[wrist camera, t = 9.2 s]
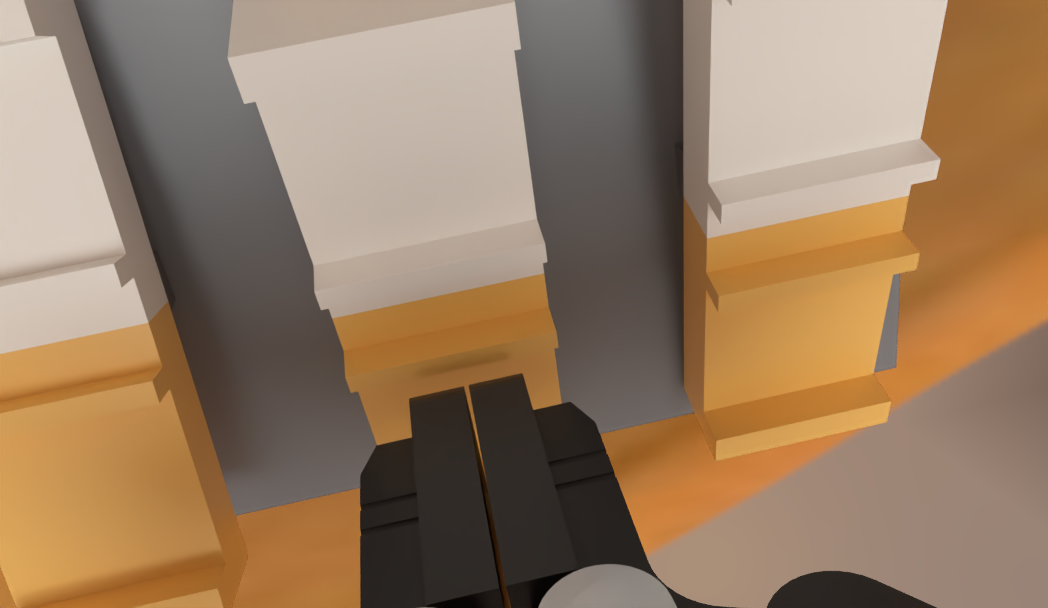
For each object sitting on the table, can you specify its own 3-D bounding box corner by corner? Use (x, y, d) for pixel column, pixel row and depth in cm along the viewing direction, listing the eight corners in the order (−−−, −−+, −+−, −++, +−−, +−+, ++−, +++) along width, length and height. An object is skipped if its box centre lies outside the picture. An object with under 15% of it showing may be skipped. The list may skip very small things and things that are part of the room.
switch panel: (-155, -134, 14) (-365, -111, 10) (790, -303, 15) (950, -344, 11) (102, 416, 19) (31, 581, 15) (798, 265, 20) (910, 383, 16)
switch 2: (683, -96, 10) (733, -41, 9) (923, -142, 11) (1002, -94, 9) (684, 387, 16) (715, 461, 15) (842, 352, 16) (886, 421, 15)
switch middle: (234, -11, 10) (226, 57, 9) (488, -59, 10) (514, 2, 9) (391, 452, 15) (399, 532, 14) (556, 415, 16) (578, 492, 14)
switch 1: (-162, 38, 11) (-250, 38, 10) (71, -6, 11) (19, -12, 10) (57, 599, 14) (13, 670, 12) (248, 556, 14) (228, 620, 12)
